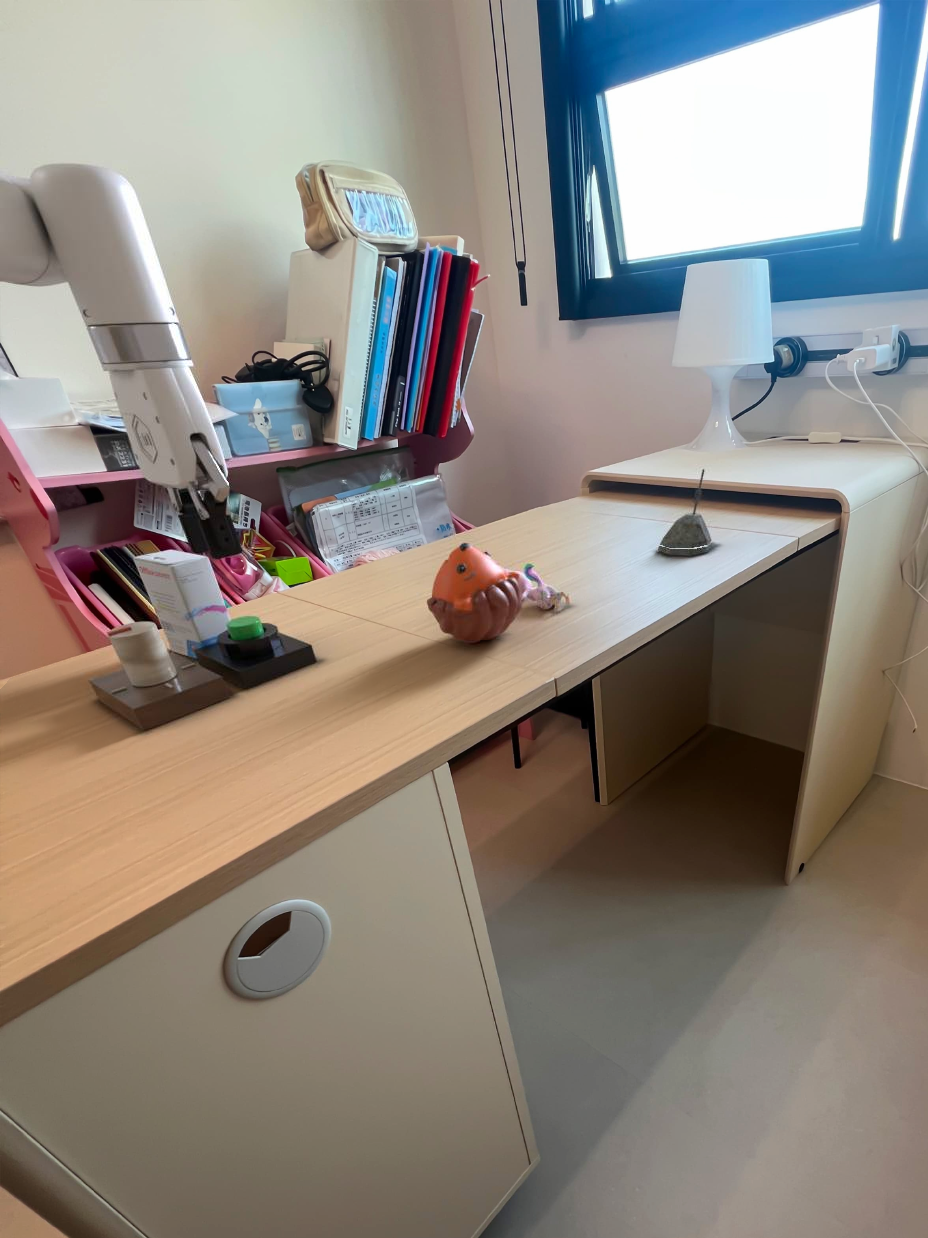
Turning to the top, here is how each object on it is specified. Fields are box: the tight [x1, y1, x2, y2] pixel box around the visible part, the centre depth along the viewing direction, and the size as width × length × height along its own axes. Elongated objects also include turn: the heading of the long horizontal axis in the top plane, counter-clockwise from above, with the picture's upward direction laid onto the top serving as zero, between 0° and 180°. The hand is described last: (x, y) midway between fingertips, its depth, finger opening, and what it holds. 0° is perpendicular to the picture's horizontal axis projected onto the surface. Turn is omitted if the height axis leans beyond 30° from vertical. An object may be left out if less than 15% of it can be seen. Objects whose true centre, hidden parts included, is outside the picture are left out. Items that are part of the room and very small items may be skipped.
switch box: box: [194, 622, 317, 690], centre depth 77 cm, size 11×9×4 cm
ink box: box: [133, 549, 232, 660], centre depth 79 cm, size 9×5×12 cm, turn 58°
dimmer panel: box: [88, 652, 231, 731], centre depth 71 cm, size 12×9×3 cm
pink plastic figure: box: [502, 563, 571, 613], centre depth 92 cm, size 6×6×15 cm
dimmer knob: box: [106, 621, 177, 687], centre depth 68 cm, size 4×4×6 cm
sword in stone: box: [657, 468, 717, 557], centre depth 109 cm, size 10×8×12 cm
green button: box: [226, 615, 264, 640], centre depth 76 cm, size 4×4×2 cm
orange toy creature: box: [426, 542, 523, 644], centre depth 79 cm, size 12×10×11 cm
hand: (217, 551), depth 71 cm, fingers open, 3 cm apart
